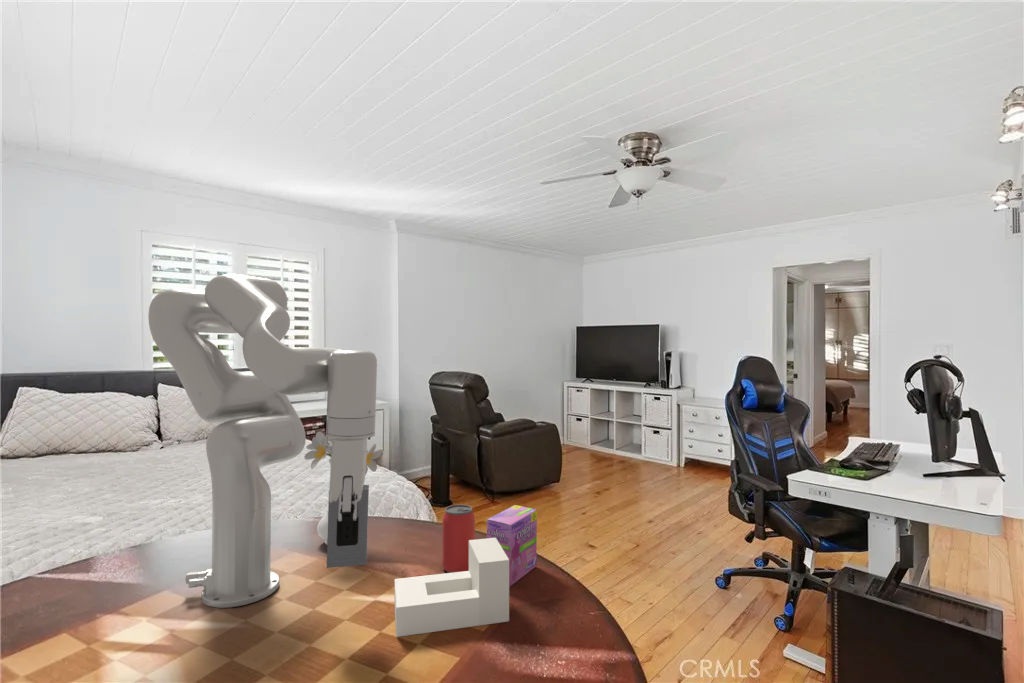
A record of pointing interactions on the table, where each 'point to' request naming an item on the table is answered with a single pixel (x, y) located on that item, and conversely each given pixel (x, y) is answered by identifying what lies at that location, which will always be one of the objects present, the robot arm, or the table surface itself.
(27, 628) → the table surface
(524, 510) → the box
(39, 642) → the table surface
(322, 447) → the flower vase
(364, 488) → the gray rectangular block
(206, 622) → the table surface
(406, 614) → the post block
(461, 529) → the beer can
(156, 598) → the table surface
